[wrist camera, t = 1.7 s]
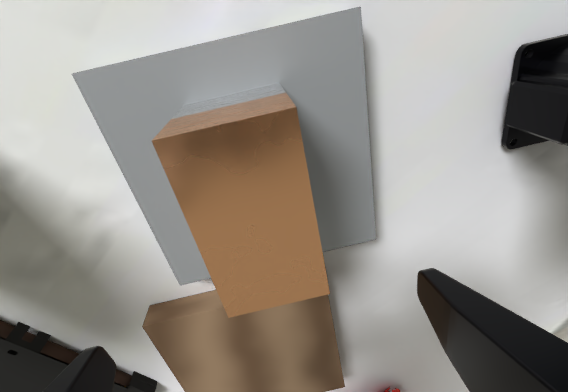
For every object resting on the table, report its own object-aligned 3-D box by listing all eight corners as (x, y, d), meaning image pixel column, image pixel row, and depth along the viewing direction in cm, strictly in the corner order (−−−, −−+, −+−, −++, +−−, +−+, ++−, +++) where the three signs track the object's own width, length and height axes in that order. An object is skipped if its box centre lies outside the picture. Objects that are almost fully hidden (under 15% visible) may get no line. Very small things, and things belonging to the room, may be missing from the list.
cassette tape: (160, 375, 29) (154, 399, 27) (91, 428, 32) (81, 453, 30) (-49, 284, 22) (-77, 308, 20) (-115, 363, 24) (-145, 391, 23)
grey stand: (348, 9, 16) (360, 6, 14) (365, 223, 23) (376, 239, 21) (91, 69, 16) (71, 73, 14) (185, 266, 23) (180, 285, 21)
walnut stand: (320, 265, 24) (325, 283, 22) (339, 367, 31) (344, 386, 29) (149, 305, 24) (142, 326, 22) (206, 398, 31) (203, 420, 29)
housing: (278, 82, 15) (296, 106, 10) (307, 225, 20) (329, 293, 14) (183, 105, 15) (151, 140, 10) (233, 242, 20) (228, 317, 14)
